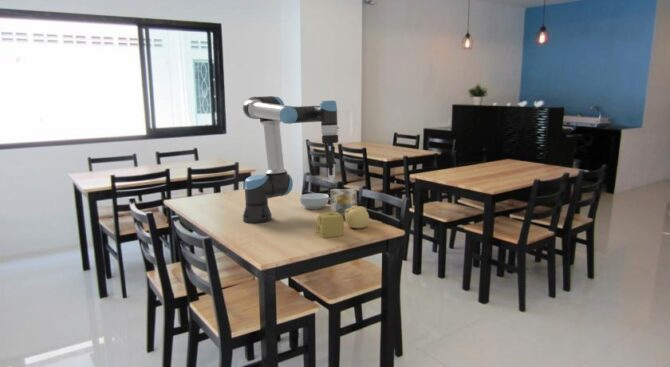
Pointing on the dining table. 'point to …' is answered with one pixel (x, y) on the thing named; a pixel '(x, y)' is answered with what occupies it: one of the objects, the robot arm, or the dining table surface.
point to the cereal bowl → (314, 200)
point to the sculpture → (357, 217)
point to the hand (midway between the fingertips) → (331, 179)
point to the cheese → (330, 224)
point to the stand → (342, 200)
